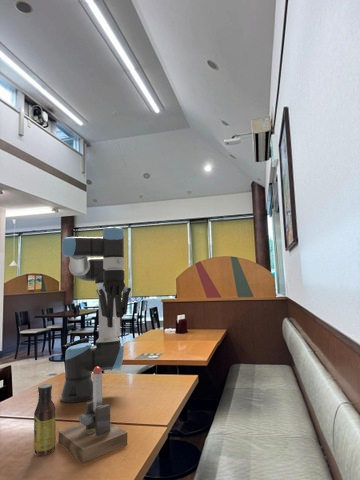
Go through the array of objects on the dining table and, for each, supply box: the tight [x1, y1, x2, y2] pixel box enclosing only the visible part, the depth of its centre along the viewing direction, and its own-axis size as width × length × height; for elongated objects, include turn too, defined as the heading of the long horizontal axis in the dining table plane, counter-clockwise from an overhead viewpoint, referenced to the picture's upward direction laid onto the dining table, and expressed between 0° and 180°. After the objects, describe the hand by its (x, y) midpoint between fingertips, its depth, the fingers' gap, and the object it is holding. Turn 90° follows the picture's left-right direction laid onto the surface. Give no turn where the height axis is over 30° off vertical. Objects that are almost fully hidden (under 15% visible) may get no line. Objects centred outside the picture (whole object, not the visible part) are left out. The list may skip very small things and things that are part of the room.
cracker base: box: [57, 400, 129, 464], centre depth 107 cm, size 18×15×12 cm
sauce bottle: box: [33, 383, 57, 457], centre depth 103 cm, size 7×6×20 cm
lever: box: [78, 367, 103, 425], centre depth 108 cm, size 4×7×16 cm, turn 132°
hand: (114, 336), depth 116 cm, fingers closed
